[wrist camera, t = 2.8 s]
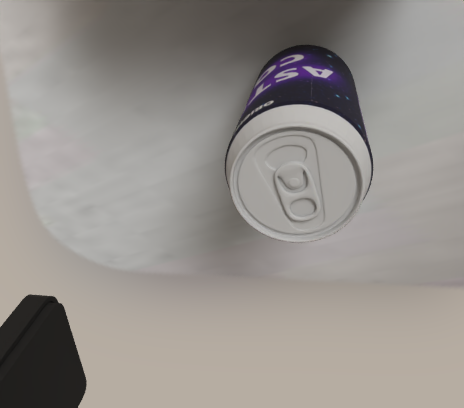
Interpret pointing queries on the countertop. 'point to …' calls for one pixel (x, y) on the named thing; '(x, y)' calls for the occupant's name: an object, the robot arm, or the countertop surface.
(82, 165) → the countertop surface
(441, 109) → the countertop surface
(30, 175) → the countertop surface
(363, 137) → the beverage can
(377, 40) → the countertop surface
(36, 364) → the robot arm
